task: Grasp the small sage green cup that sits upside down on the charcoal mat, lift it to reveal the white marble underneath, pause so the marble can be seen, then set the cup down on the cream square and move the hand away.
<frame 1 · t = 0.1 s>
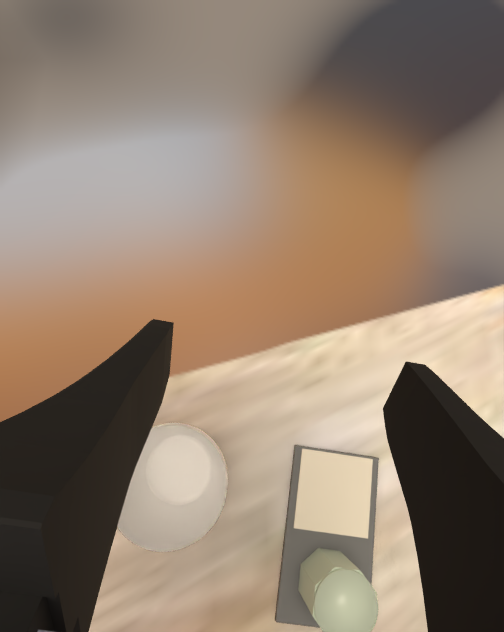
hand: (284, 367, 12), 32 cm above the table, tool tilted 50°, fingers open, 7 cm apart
sage cup: (326, 580, 39), resting on mat
mat: (328, 533, 41), on the table
cup: (179, 468, 41), on the table
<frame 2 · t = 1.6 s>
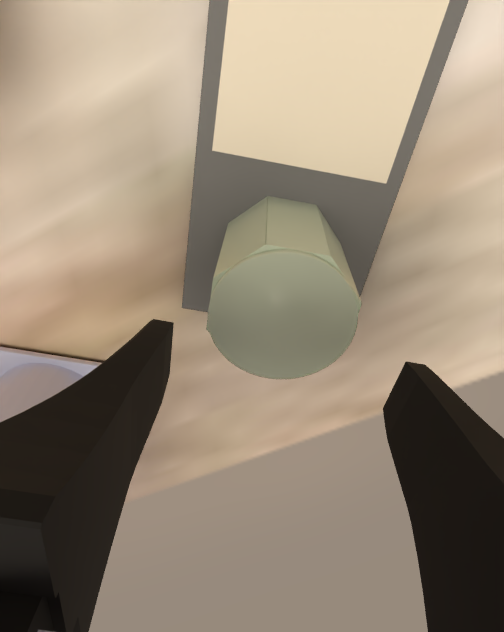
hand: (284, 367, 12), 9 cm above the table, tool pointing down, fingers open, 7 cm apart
sage cup: (279, 254, 20), resting on mat
mat: (298, 168, 18), on the table
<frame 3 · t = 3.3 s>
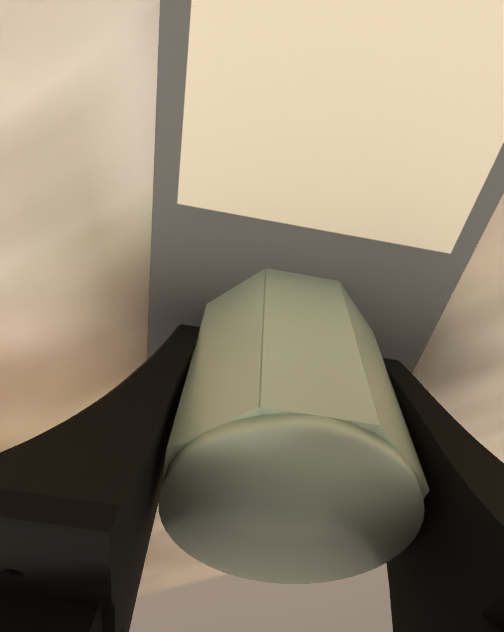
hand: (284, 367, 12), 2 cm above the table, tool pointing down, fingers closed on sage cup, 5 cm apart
sage cup: (283, 346, 13), point 1 cm above the table, touching gripper, mat
mat: (312, 226, 12), on the table
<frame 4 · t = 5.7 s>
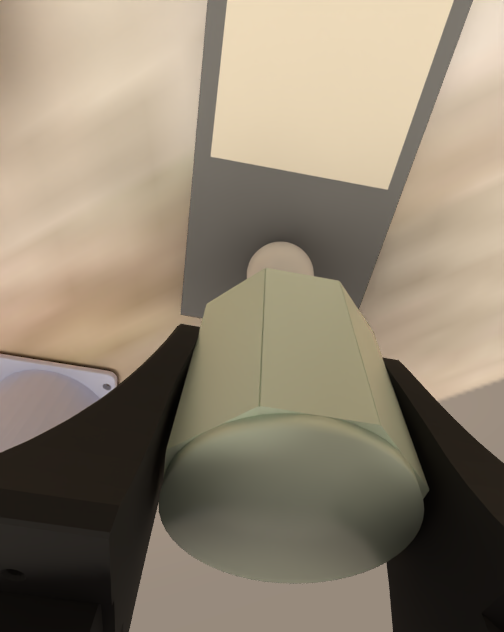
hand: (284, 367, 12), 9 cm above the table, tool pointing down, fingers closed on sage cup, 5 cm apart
marble: (280, 275, 18), point 2 cm above the table, touching mat
sage cup: (283, 345, 13), point 8 cm above the table, touching gripper
mat: (298, 174, 18), on the table
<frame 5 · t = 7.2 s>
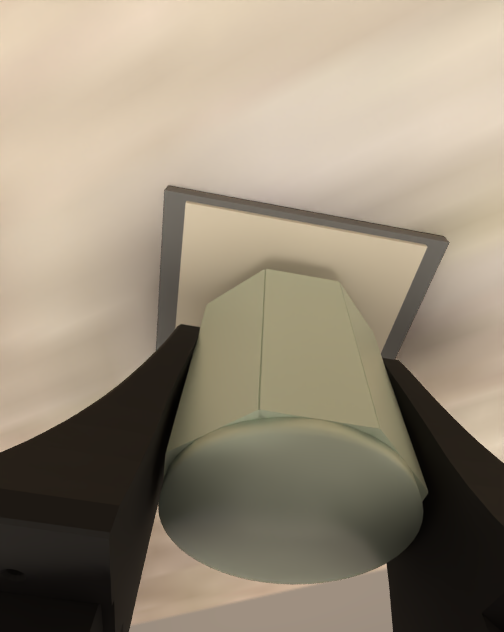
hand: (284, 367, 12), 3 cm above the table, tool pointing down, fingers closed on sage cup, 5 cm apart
sage cup: (283, 346, 13), point 2 cm above the table, touching gripper
mat: (262, 392, 17), on the table
when the fingers open (3 cm above the table, at t = 8.3 s): sage cup stays where it is, resting on mat.
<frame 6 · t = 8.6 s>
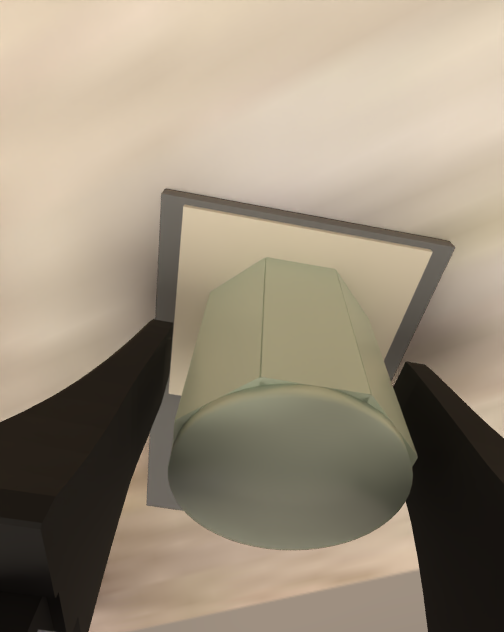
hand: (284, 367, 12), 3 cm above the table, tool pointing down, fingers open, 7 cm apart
sage cup: (283, 332, 14), point 1 cm above the table, touching mat
mat: (262, 399, 17), on the table
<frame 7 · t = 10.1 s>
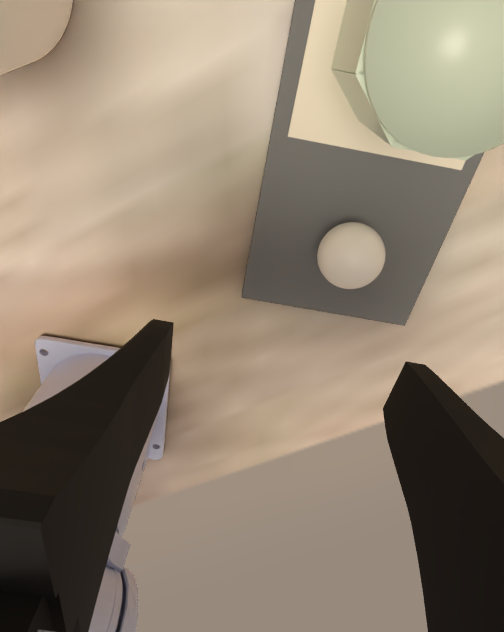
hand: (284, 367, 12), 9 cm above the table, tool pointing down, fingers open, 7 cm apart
marble: (350, 256, 18), point 2 cm above the table, touching mat
sage cup: (409, 48, 15), point 1 cm above the table, touching mat
mat: (370, 155, 18), on the table
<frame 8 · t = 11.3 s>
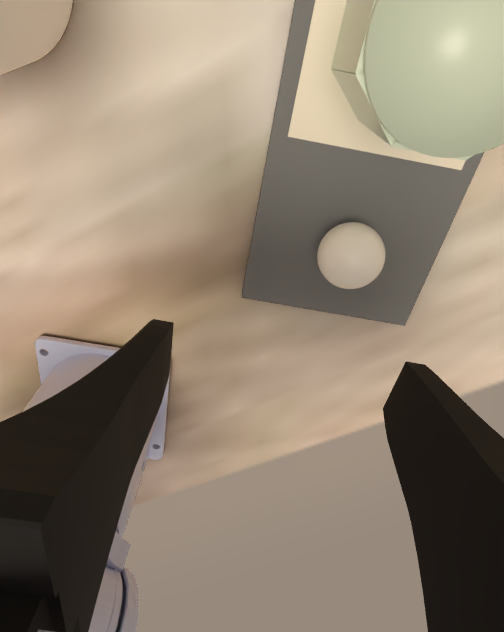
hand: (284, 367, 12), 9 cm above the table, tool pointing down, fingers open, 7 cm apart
marble: (350, 255, 18), point 2 cm above the table, touching mat
sage cup: (409, 48, 15), point 1 cm above the table, touching mat
mat: (370, 155, 18), on the table
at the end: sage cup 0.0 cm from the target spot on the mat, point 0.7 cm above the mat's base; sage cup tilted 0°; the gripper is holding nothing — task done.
